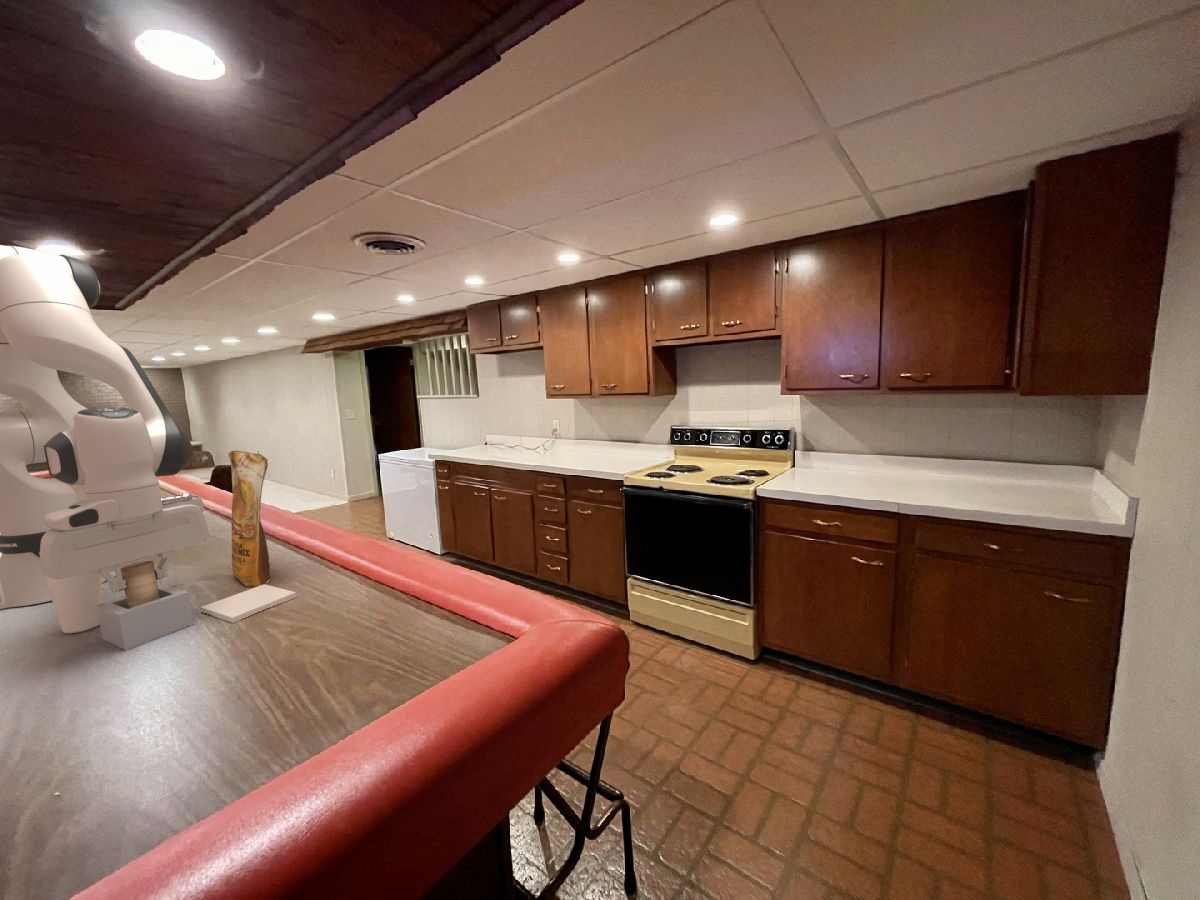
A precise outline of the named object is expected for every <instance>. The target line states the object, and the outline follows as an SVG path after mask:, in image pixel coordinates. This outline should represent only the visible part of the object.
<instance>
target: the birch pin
mask: <svg viewBox="0 0 1200 900" xmlns="http://www.w3.org/2000/svg"><path fill="white" fill-rule="evenodd" d="M155 568H156V567H155V563H154V560H143V561H137V562H133V563H130V564H126V565H124V566H122V567H120V573H121V578H123V579H126V584H125V585H127V589H124V590H123V591H124V594H125V596H126V601H127V606H128V609H129V608H133V607H136V606H139V605H142V604H145V603H148V602H151V601H154V600H157V599H160V596H159V591H158V580H157V579H156V574H155Z"/></svg>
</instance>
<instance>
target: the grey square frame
mask: <svg viewBox="0 0 1200 900" xmlns="http://www.w3.org/2000/svg"><path fill="white" fill-rule="evenodd" d="M158 591H159V596H160V599H157V600H154V601H151V602H148V603H145V604H142V605H139V606H136V607H133V608H129V609H128V606H127V601H126V595H125V596H122V597H119V598H115V599H113V600H110V601H109V600H108V601H106V602H103V603H102V604H99V605H96V608H97V613H98V618H99V623H100V625H99V627H100V633H101V637H102V640H103V639H104V641H105V640H106V642H108V643H110V644H112V645H114V646H116V647H118V648H120V649H122V650H124V651H127V650H130V649H133V648H136V647H138V646H141V645H143V644H146V643H148V642H151V641H154V640H156V639H159V638H161V637H164V636H167V635H169V634H172V633H175V632H177V631H180V630H182V629H185V628H187V626H188V627H190V626H193V625H194V624H195V623H194V622H195V621H194V616H193V611H192V610H193V609H192V605H191V598H190V591H187V590H184V589H181V588H177V587H173V586H172V585H171V586H170V585H167V584H161V585H159V586H158ZM192 624H193V625H192ZM135 646H136V647H135Z"/></svg>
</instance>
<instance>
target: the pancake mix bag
mask: <svg viewBox="0 0 1200 900" xmlns="http://www.w3.org/2000/svg"><path fill="white" fill-rule="evenodd" d="M227 454H228V457H229V461H230V468H231V469H230V470H231V471H230V472H231V485H232V487H231V488H232V499H231V500H232V504H231V505H232V506H231V567H232V573H233V575H234V577H235V578H236V579H237V578H238V579H239V580H240V581H239V580H238V579H237V580H238V581H239V582H241V583H242V585H243V584H244V587H246V586H247V587H246V588H251V587H250V586H254V587H258V586H261V585H263V584H265V583H266V582H267V581H268V580H269V579H270V580H271V568H270V555H269V549H268V546H267V540H266V536H265V531H264V527H263V524H262V522H261V515H260V512H261V505H262V495H263V494H262V492H263V485H264V481H265V477H266V474H267V470H268V466H269V464H268V462H269V461H268V459H267V458H266V457H265V456H263V455H262V454H260V453H255V452H253V453H252V452H249V451H244V450H243V451H242V450H231V451H230V452H229V453H227ZM266 584H267V583H266ZM266 584H265V585H266ZM255 585H257V586H255Z"/></svg>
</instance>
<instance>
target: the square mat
mask: <svg viewBox="0 0 1200 900" xmlns="http://www.w3.org/2000/svg"><path fill="white" fill-rule="evenodd" d="M296 598H297V592H295V591H293V590H292V591H291V590H288V589H284V588H281V587H276V586H273V585H269V584H264V585H261V586H254V587H252V588H250V589H247V590H244V591H242V592H239V593H237V594H233V595H230V596H228V597H225V598H223V599H220V600H217V601H215V602H214V601H213V602H211V603H209V604H206V605H203V606H200V612H201V613H202V612H204V613H203V614H205V613H207V614H206V615H208V614H210V615H209V616H211V615H212V616H211V617H214V618H217V619H220V620H223V621H226V622H228V623H229V622H230V623H231V624H232V623H233V624H234V623H237V622H239V621H241V619H242V620H244V619H247V618H249V617H251V616H250V615H252V614H254V615H256V614H255V613H257V612H259V611H261V612H263V611H262V610H264V609H266V608H269V607H271V608H273V607H272V606H274V607H276V606H278V605H277V604H279V605H281V604H284V603H286V602H289V601H291V600H293V599H296ZM283 602H284V603H283ZM280 603H281V604H280ZM275 605H276V606H275ZM269 609H270V608H269ZM266 610H267V609H266ZM264 611H265V610H264ZM259 613H260V612H259ZM257 614H258V613H257ZM248 616H249V617H248ZM252 616H253V615H252ZM246 617H247V618H246ZM243 618H244V619H243Z"/></svg>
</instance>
